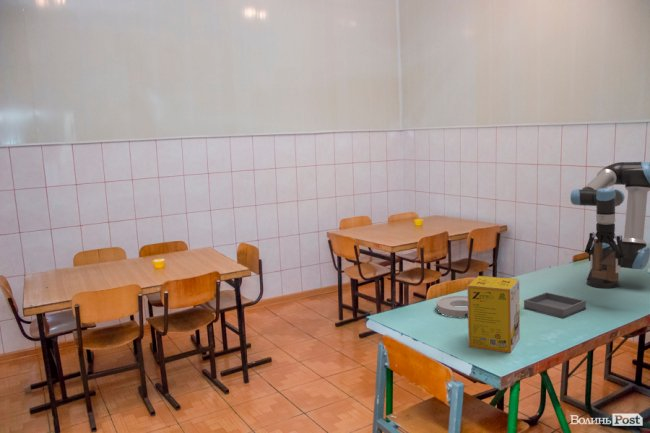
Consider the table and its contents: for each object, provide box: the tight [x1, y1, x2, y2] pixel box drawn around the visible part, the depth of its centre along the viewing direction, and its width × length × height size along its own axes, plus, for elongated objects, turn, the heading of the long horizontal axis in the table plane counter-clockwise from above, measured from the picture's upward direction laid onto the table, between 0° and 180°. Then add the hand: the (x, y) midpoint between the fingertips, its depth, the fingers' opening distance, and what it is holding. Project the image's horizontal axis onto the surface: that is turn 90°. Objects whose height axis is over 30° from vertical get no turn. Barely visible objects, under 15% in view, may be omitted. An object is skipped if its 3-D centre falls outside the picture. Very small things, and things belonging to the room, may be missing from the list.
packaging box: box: [466, 275, 521, 354], centre depth 219 cm, size 16×16×25 cm
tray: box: [523, 292, 587, 319], centre depth 257 cm, size 18×20×4 cm
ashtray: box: [436, 295, 468, 319], centre depth 263 cm, size 23×23×4 cm
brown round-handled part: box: [592, 238, 619, 281], centre depth 251 cm, size 4×11×18 cm, turn 34°
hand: (605, 270), depth 251 cm, fingers closed on brown round-handled part, 11 cm apart
